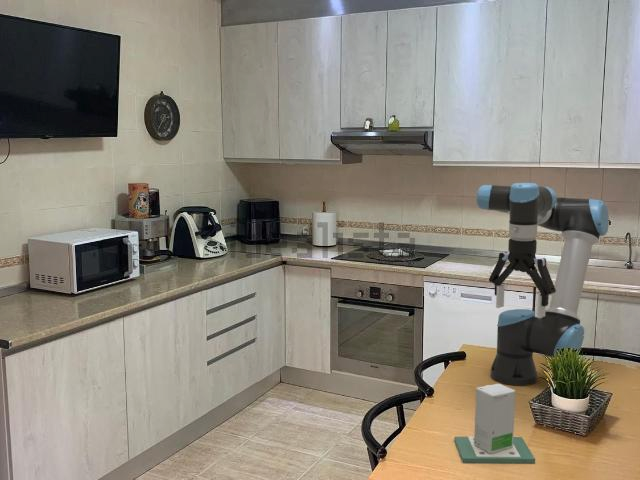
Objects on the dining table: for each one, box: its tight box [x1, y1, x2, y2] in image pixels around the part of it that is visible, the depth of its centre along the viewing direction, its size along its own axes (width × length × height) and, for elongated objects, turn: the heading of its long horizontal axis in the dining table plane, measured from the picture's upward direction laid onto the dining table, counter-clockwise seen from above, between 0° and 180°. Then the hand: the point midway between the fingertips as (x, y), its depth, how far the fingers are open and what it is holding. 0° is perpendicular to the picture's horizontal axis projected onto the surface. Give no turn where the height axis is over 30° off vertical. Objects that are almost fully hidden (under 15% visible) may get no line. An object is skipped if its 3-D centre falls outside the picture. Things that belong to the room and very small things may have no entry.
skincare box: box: [473, 383, 516, 454], centre depth 168 cm, size 8×7×16 cm
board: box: [453, 435, 536, 464], centre depth 169 cm, size 18×12×2 cm, turn 89°
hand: (520, 311), depth 186 cm, fingers open, 13 cm apart
